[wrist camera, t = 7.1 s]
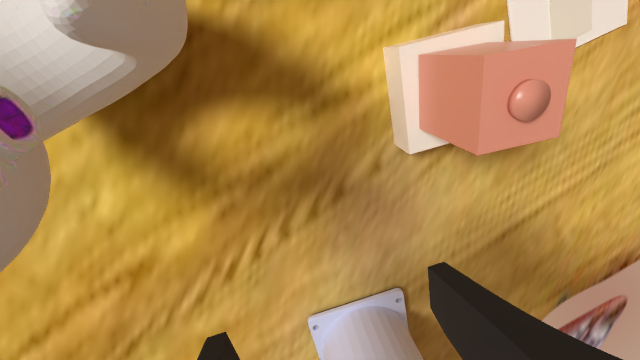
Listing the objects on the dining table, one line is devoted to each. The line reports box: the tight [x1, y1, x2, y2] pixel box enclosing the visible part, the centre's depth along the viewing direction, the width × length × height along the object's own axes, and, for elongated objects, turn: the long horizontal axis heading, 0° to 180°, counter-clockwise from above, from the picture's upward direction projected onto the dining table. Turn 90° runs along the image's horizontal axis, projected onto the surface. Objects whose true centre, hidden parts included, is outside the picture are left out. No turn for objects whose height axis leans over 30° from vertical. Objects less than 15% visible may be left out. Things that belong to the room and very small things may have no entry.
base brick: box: [383, 20, 504, 155], centre depth 18 cm, size 6×6×2 cm
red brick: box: [418, 39, 577, 156], centre depth 14 cm, size 4×4×5 cm
